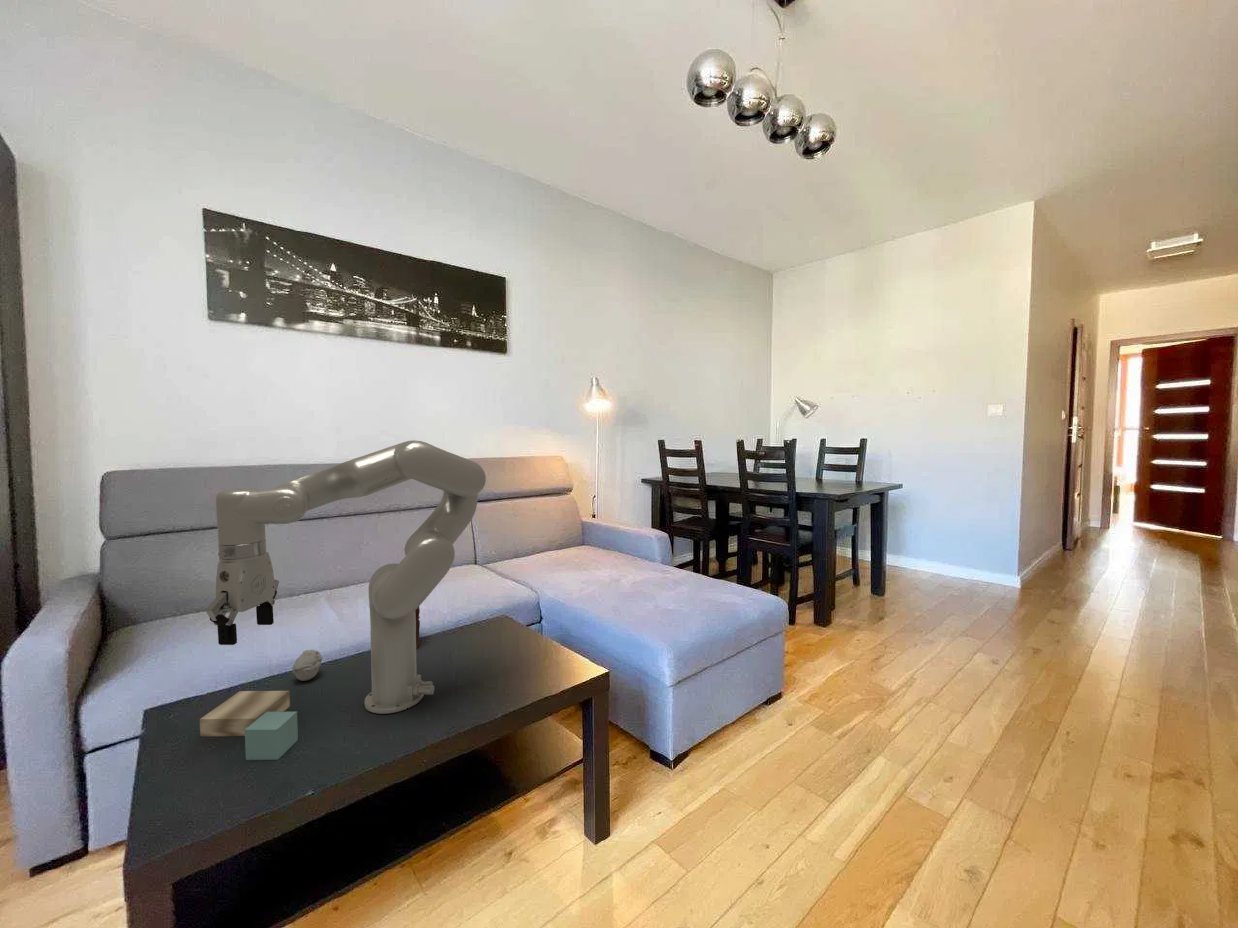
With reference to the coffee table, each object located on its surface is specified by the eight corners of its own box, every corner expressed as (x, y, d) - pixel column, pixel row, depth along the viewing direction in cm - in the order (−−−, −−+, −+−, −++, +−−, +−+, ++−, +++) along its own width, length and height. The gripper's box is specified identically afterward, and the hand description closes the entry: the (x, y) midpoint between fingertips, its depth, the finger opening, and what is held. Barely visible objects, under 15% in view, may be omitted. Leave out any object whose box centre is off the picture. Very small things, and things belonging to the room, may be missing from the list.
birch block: (289, 707, 112) (289, 690, 111) (255, 737, 101) (254, 718, 100) (240, 708, 111) (239, 691, 111) (200, 738, 100) (199, 719, 100)
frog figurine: (328, 672, 127) (327, 646, 127) (308, 686, 120) (308, 658, 120) (306, 671, 128) (305, 645, 127) (285, 685, 121) (284, 657, 120)
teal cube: (297, 740, 99) (297, 711, 99) (278, 759, 93) (277, 729, 93) (267, 740, 99) (266, 711, 99) (245, 760, 93) (244, 729, 93)
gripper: (225, 561, 90) (231, 653, 91) (291, 540, 107) (294, 617, 108) (185, 561, 90) (191, 652, 91) (257, 540, 107) (261, 617, 108)
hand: (247, 633), depth 100 cm, fingers open, 9 cm apart
